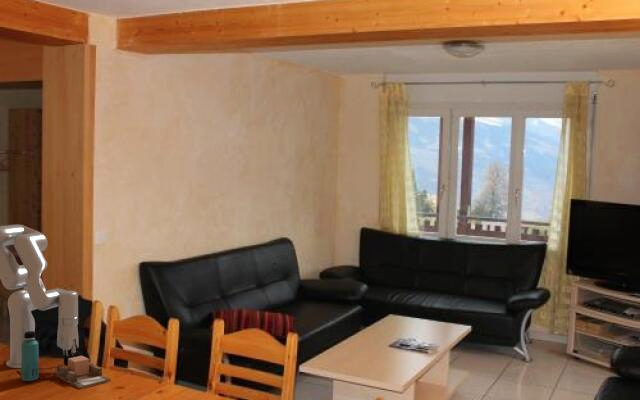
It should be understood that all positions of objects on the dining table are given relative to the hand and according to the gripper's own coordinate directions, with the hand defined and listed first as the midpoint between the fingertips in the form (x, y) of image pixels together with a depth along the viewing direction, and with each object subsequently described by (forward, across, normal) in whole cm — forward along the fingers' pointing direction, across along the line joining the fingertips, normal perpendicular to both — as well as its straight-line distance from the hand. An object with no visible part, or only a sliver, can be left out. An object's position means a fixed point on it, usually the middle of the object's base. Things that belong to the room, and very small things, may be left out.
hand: (68, 364), depth 277 cm
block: (+1, +9, 0) cm, 9 cm away
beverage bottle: (+3, +3, -17) cm, 18 cm away
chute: (+3, +13, 0) cm, 13 cm away
